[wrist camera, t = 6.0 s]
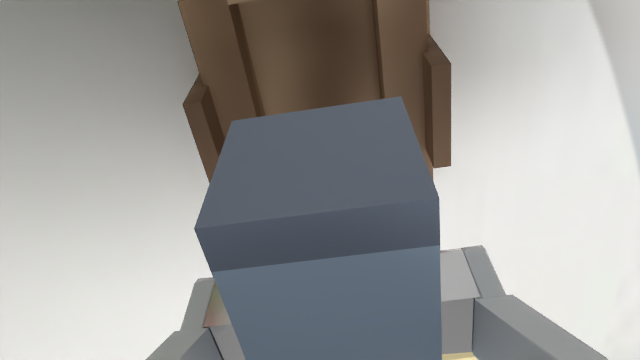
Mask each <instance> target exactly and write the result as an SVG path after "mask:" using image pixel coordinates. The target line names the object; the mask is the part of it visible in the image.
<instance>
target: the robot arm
mask: <svg viewBox="0 0 640 360" xmlns="http://www.w3.org/2000/svg"><path fill="white" fill-rule="evenodd" d="M440 274H441V328H442V354H454V353H467V352H473V355H474V356H475V357H476V358H477V359H478V360H608V359H607V358H606V357H605V356H603V355H602V354H600V353H599V352H597V351H596V350H594V349H593V348H591V347H590V346H588V345H587V344H585V343H584V342H582V341H581V340H579V339H578V338H576V337H575V336H573V335H572V334H570V333H569V332H567V331H566V330H564V329H563V328H561V327H560V326H558V325H557V324H555V323H554V322H552V321H551V320H549V319H548V318H546V317H545V316H543V315H542V314H541V313H539V312H538V311H536V310H535V309H533V308H532V307H530V306H529V305H527V304H526V303H524V302H523V301H521V300H520V299H518V298H517V297H515V296H514V295H506V294H505V292H504V289H503V287H502V285H501V283H500V281H499V278H498V276H497V274H496V272H495V270H494V267H493V265H492V263H491V261H490V259H489V256H488V254H487V252H486V250H485V248H484V247H483V246H482V245H480V246H473V247H465V248H461V249H460V248H459V249H451V250H443V251H440ZM146 360H246V359H245V357H244V354H243V351H242V349H241V346H240V344H239V341H238V339H237V336H236V334H235V331H234V329H233V326H232V323H231V321H230V318H229V316H228V313H227V311H226V308H225V306H224V303H223V301H222V298H221V295H220V293H219V290H218V288H217V285H216V283H215V280H214V278H213V277H212V278H200V279H198V280H197V281H196V282H195V284H194V287H193V290H192V293H191V297H190V300H189V303H188V306H187V310H186V313H185V316H184V320H183V323H182V326H181V329H180V331H175V332H173V333H172V334H171V335H170V336H169V337H168V338H167V339H166V340H165V341H164V342H163V343H162V344H161V345H160V346H159V347H158V348H157V349H156V350H155V351H154V352H153V353H152V354H151V355H150V356H149V357H148V358H147V359H146Z"/></svg>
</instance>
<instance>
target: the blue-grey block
mask: <svg viewBox="0 0 640 360" xmlns="http://www.w3.org/2000/svg"><path fill="white" fill-rule="evenodd" d="M194 229H195V232H196V234H197V237H198V240H199V242H200V245H201V247H202V250H203V252H204V255H205V257H206V260H207V262H208V265H209V268H210V270H211V273H212V275H213V278H214V280H215V283H216V285H217V288H218V290H219V293H220V295H221V298H222V301H223V303H224V306H225V308H226V311H227V313H228V316H229V318H230V321H231V323H232V326H233V329H234V331H235V334H236V336H237V339H238V341H239V344H240V346H241V349H242V351H243V354H244V357H245V359H246V360H442V328H441V274H440V219H439V196H438V193H437V191H436V188H435V185H434V183H433V180H432V177H431V175H430V172H429V169H428V167H427V164H426V161H425V159H424V156H423V153H422V151H421V148H420V145H419V143H418V140H417V137H416V135H415V132H414V129H413V126H412V124H411V121H410V118H409V116H408V113H407V110H406V108H405V105H404V102H403V100H402V97H401V96H399V97H393V98H386V99H379V100H372V101H365V102H358V103H351V104H344V105H337V106H331V107H324V108H317V109H310V110H303V111H296V112H289V113H282V114H275V115H269V116H262V117H255V118H248V119H241V120H234V121H232V122H231V125H230V127H229V130H228V133H227V136H226V139H225V142H224V145H223V148H222V150H221V153H220V156H219V159H218V162H217V165H216V168H215V171H214V173H213V176H212V179H211V182H210V185H209V188H208V191H207V193H206V196H205V199H204V202H203V205H202V208H201V211H200V214H199V216H198V219H197V222H196V225H195V228H194Z"/></svg>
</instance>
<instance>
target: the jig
mask: <svg viewBox="0 0 640 360" xmlns="http://www.w3.org/2000/svg"><path fill="white" fill-rule="evenodd" d="M178 5H179V9H180V12H181V15H182V18H183V22H184V25H185V28H186V31H187V34H188V38H189V41H190V44H191V47H192V51H193V54H194V57H195V60H196V63H197V67H198V70H199V73H200V74H199V76H198V77H197V79H196V81H195V83H194V85H193V86H192V88H191V90H190V92H189V94H188V96H187V97H186V99H185V101H184V103H183V108H184V110H185V113H186V116H187V119H188V122H189V125H190V128H191V131H192V134H193V137H194V139H195V142H196V145H197V148H198V151H199V154H200V157H201V160H202V163H203V166H204V168H205V171H206V174H207V177H208V180H209V183H210V182H211V179H212V176H213V173H214V171H215V168H216V165H217V162H218V159H219V156H220V153H221V150H222V148H223V145H224V142H225V139H226V136H227V133H228V130H229V127H230V125H231V122H232V121H234V120H241V119H248V118H255V117H262V116H269V115H275V114H282V113H289V112H296V111H303V110H310V109H317V108H324V107H331V106H337V105H344V104H351V103H358V102H365V101H372V100H379V99H386V98H393V97H399V96H401V97H402V100H403V102H404V105H405V108H406V110H407V113H408V116H409V118H410V121H411V124H412V126H413V129H414V132H415V135H416V137H417V140H418V143H419V145H420V148H421V151H422V153H423V156H424V159H425V161H426V164H427V167H428V169H429V172H430V175H431V177H432V180H433V168H440V167H447V166H451V63H450V61H449V60H448V59H447V57H446V56H445V55H444V53H443V52H442V51H441V49H440V48H439V47H438V45H437V44H436V43H435V41H434V40H433V38H432V37H431V36H430V32H429V0H179V1H178Z"/></svg>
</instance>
